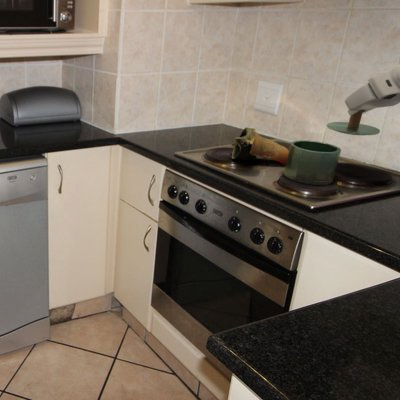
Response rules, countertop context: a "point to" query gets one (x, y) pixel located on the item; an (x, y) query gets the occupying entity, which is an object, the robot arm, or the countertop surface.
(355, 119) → the tin lid
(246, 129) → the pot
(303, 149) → the tin
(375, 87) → the robot arm
